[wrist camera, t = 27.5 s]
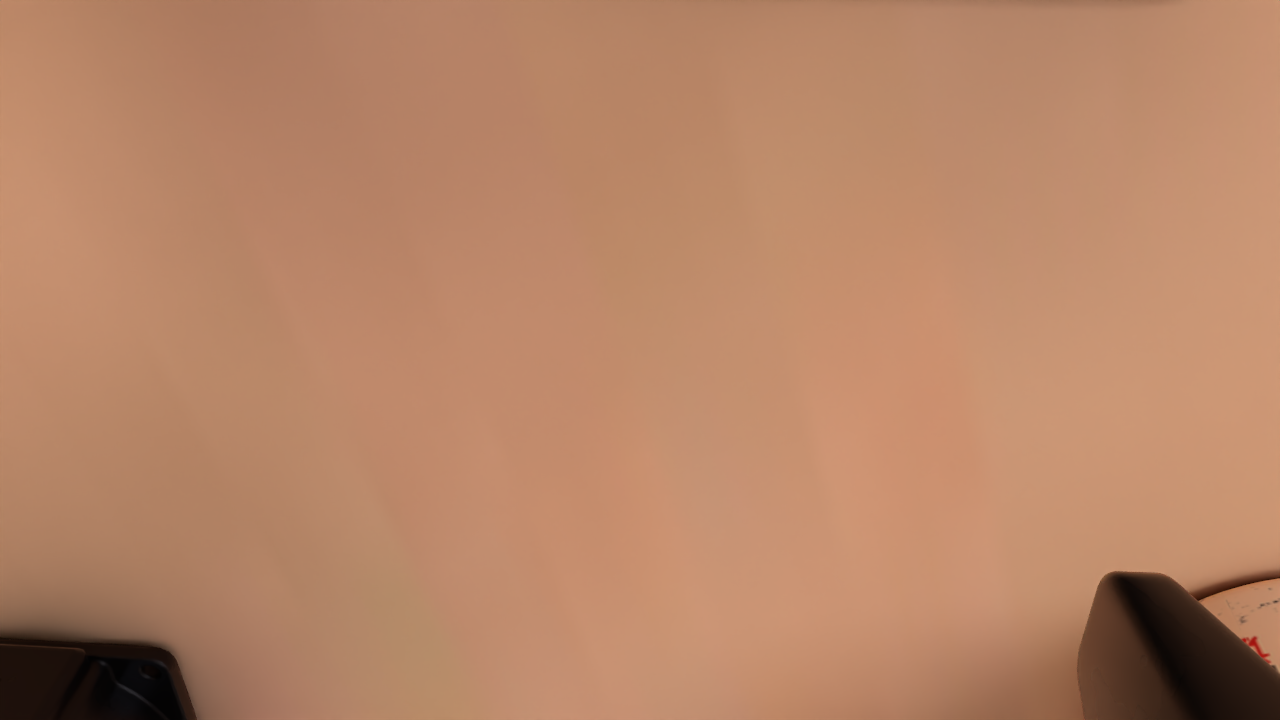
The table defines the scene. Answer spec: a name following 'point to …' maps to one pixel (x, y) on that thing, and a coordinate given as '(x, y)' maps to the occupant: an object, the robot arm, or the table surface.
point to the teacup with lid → (1252, 616)
